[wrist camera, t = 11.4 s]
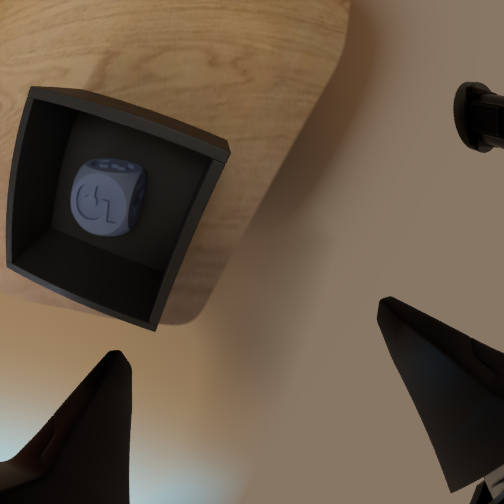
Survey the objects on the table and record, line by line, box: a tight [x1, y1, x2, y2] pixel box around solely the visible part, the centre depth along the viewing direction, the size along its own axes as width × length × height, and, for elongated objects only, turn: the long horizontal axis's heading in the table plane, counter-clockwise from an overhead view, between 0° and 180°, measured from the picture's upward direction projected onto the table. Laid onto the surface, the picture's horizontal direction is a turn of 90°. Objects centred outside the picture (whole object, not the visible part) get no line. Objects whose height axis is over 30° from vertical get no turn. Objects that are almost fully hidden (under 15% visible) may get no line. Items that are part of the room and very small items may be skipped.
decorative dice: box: [71, 158, 146, 236], centre depth 16 cm, size 4×4×4 cm
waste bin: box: [6, 86, 231, 332], centre depth 15 cm, size 12×12×7 cm
